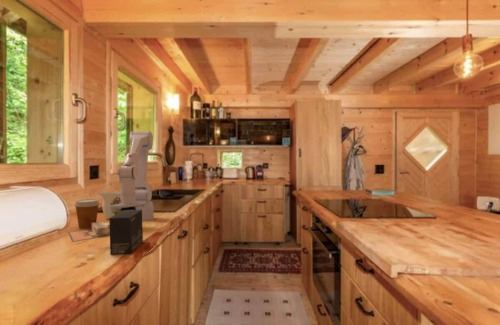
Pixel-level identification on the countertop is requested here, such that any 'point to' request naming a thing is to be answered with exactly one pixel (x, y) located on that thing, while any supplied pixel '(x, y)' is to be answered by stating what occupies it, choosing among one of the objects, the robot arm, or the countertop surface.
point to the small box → (125, 232)
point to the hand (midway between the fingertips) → (128, 225)
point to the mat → (84, 235)
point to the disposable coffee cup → (86, 212)
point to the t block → (100, 228)
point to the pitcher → (110, 202)
